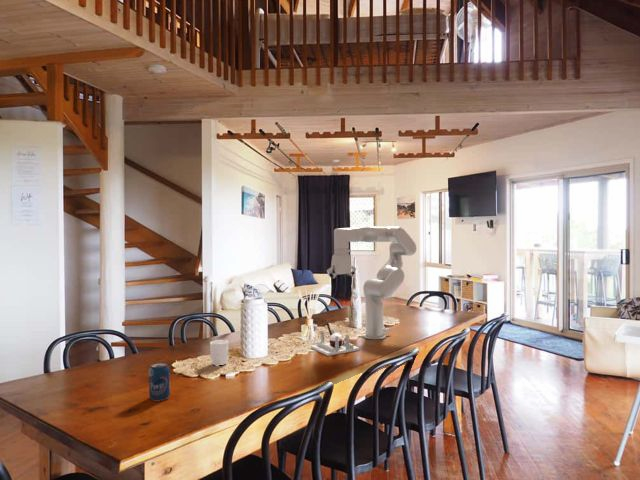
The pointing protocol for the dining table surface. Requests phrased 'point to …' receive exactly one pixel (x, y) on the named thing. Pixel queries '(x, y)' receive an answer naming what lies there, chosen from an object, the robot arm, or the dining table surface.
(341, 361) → the dining table surface
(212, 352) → the white cup
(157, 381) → the soda can
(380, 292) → the robot arm
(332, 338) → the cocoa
